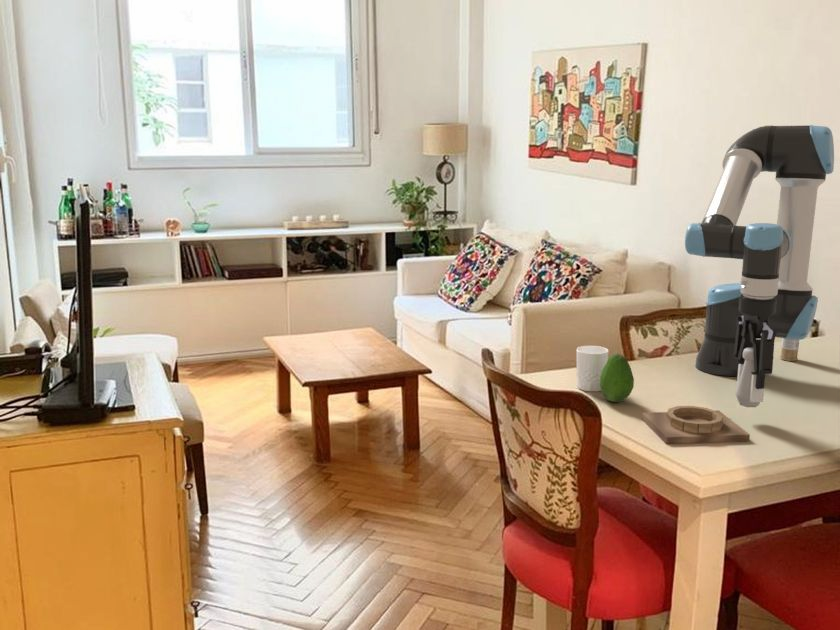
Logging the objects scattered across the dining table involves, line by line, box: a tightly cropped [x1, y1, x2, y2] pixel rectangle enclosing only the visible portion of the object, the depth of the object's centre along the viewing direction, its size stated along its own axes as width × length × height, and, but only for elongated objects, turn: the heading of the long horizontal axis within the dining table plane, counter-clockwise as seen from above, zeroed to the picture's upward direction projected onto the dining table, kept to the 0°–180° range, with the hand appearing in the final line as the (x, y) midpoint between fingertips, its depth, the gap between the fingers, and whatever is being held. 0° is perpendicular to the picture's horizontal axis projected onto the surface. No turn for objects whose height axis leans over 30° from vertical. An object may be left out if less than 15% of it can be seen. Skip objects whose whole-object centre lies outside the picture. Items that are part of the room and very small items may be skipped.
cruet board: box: [641, 405, 751, 445], centre depth 181 cm, size 18×15×4 cm
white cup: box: [576, 345, 610, 392], centre depth 210 cm, size 8×8×10 cm
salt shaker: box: [735, 347, 761, 408], centre depth 185 cm, size 6×6×13 cm
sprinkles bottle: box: [780, 338, 800, 362], centre depth 234 cm, size 5×5×13 cm
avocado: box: [600, 353, 635, 403], centre depth 199 cm, size 8×8×12 cm
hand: (749, 396), depth 186 cm, fingers closed on salt shaker, 6 cm apart
